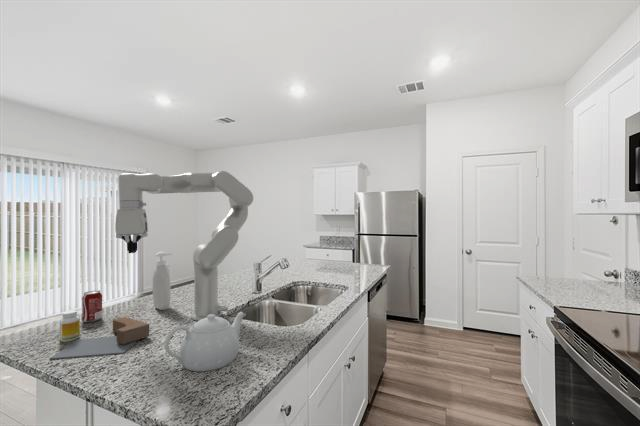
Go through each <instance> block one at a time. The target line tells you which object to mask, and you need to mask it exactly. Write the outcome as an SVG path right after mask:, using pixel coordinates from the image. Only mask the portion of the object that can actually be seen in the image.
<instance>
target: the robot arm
mask: <svg viewBox="0 0 640 426" xmlns="http://www.w3.org/2000/svg"><path fill="white" fill-rule="evenodd" d="M143 192H146V193H148V194H151V195H155V194H156V195H157V194H158V195H159V194H191V193H192V194H194V193H195V194H196V193H219V192H222V193H223V194H225V196H227V197H228V202H229V205H230V208H229V212H228V213H227V215H226V216H225V217H224V218H223V219H222V221H221V222H220V223H219V224H218V225H217V226H216V227H215V228H214V230H213V231H212V232H211V238H210V240H209V242H208V243H202V244H200V245H198V246H197V247H196V248H194V249H195V250H194V252H193V255H192V256H193V259H192V261H193V268H194V272H193V273H194V274H193V276H194V282H193V283H194V284H193V285H194V312H192V313H191V315H190V319H191V320H193V321H196V322H198V321H199V320H201V319H204V318H207V316H208V315H209V314H214V315H215V317H221V316H222V312H228V311H229V306H227V305H221V304H220V302H219V299H218V297H219V291H218V290H219V288H218V287H219V286H218V285H219V284H218V282H219V280H218V279H219V275H218V266H219V265H221V263H222V262H224V260H225V259H226V258H227V256H228V255H229V254H230V253H231V252H232V250H233V248H235V246H236V245H237V243H238V241H239V231H240V230H241V228H242V227H243V226H244V224H245V222H246V221H247V219H248V215H249V206H251V205H252V204H253V201H254V195H253V192H252V191H251V189H249V188H248V186H246V185H245V184H243V183H242V182H241V181H240V180H238V179H237V178H236V177H235V176H234V175H233V174H231V173H230V172H228V171H225V170H221V171H220V170H219V171H217V172H186V173H183V174H178V175H168V176H167V175H166V176H165V175H160V174H157V173H140V174H139V173H129V172H127V173H126V172H125V173H121V174H119V175H118V200H119V201H118V204H119V205H118V207H119V209H117V211H116V216H115V223H114V224H115V228H114V229H115V238H116V239H121V240H123V241H124V242H125V243H126V248H127V249H126V250H127V252H128V254H135V253H137V251H138V242H139V241H140V240H141V239H142V238H146V237H148V235H149V234H148V233H149V224H148V218H147V212H146V209H145V208H144V207H145V206H147V202H145V201H143ZM132 235H133V236H132Z"/></svg>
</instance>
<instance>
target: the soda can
mask: <svg viewBox="0 0 640 426" xmlns="http://www.w3.org/2000/svg"><path fill="white" fill-rule="evenodd" d="M102 318H103V294H102V293H101V291H100V289H99V290H89V291H85V292H84V293H83V296H82V297H81V320H82V321H81V322H85V323H93V322H92V321H94V322H97V320H98V321H99V320H100V319H102Z"/></svg>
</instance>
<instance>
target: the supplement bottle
mask: <svg viewBox="0 0 640 426" xmlns="http://www.w3.org/2000/svg"><path fill="white" fill-rule="evenodd" d="M80 322H81V321H80V317H79V316H78V311H77V310H73V309H72V310H67V311H65V312H62V318H61V319H60V321H59V340H60V342H65V343H66V342H72V341H76V340H78V339H80V336H81V335H80V334H81V331H80V330H81V329H80V327H81V324H80Z"/></svg>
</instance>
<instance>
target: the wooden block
mask: <svg viewBox="0 0 640 426" xmlns="http://www.w3.org/2000/svg"><path fill="white" fill-rule="evenodd" d="M112 332H114V333H116V336H117V343H120V344H122V345H123V344H126V343H130V342H133V341H136V340H138V341H139V340H141V339H144V338H147V337H150V324H149V323H147V322H144V321H140V320H137V319H133V318H130V317H127V316H123V317H119V318H114V319H113V320H112Z"/></svg>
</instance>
